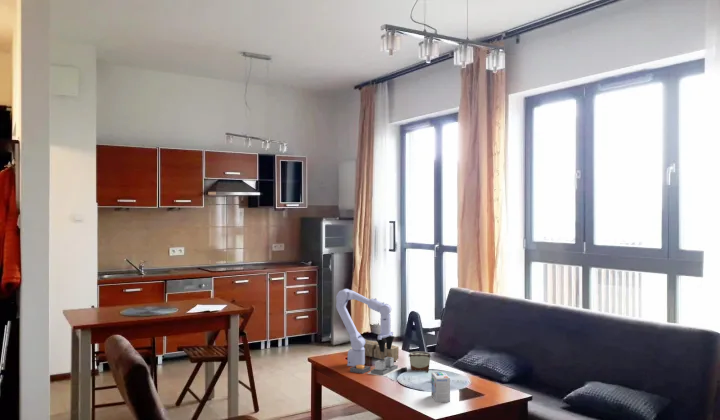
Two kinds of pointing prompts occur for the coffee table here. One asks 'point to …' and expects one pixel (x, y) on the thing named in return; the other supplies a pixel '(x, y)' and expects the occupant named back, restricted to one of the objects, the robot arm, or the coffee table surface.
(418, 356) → the food container
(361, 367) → the button
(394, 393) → the coffee table surface
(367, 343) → the block tower
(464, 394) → the coffee table surface
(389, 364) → the billet
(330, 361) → the coffee table surface
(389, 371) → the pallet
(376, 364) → the seated billet
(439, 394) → the light bulb box
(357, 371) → the button housing
